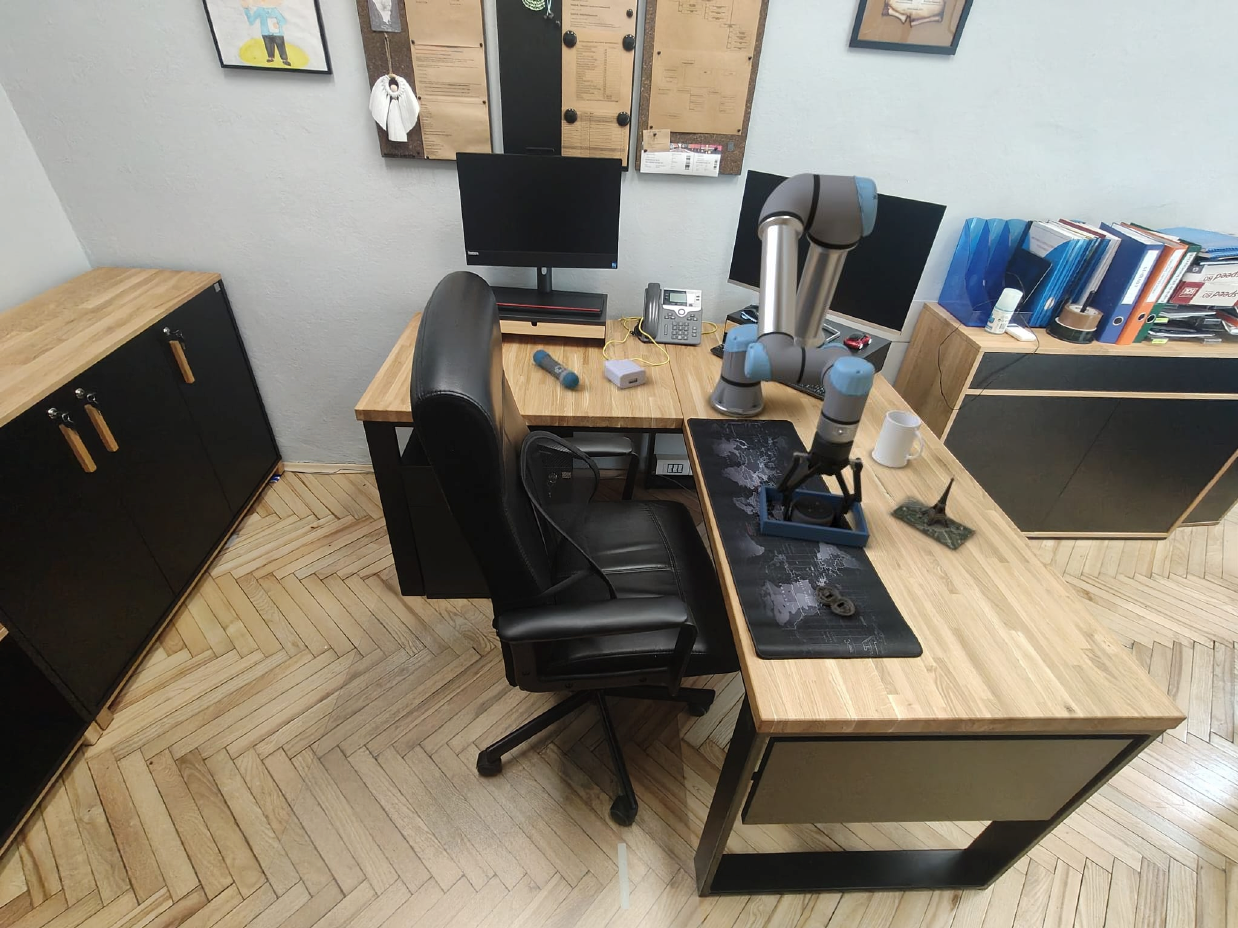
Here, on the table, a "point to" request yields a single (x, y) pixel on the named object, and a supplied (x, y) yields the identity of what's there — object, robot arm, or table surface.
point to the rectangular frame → (811, 531)
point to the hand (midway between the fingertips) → (809, 520)
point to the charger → (624, 373)
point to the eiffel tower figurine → (934, 520)
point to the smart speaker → (811, 511)
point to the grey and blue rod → (556, 369)
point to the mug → (897, 439)
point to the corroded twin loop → (835, 600)
